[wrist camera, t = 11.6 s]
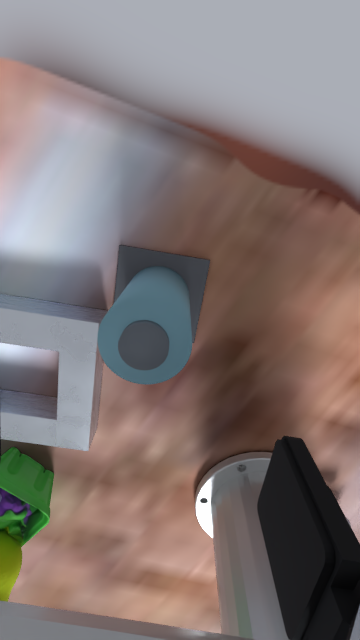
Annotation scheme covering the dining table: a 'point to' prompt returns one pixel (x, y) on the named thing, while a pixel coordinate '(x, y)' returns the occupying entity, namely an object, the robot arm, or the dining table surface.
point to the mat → (185, 266)
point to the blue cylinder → (148, 328)
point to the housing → (73, 378)
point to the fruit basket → (20, 511)
